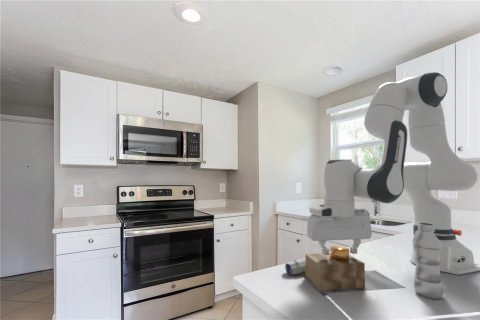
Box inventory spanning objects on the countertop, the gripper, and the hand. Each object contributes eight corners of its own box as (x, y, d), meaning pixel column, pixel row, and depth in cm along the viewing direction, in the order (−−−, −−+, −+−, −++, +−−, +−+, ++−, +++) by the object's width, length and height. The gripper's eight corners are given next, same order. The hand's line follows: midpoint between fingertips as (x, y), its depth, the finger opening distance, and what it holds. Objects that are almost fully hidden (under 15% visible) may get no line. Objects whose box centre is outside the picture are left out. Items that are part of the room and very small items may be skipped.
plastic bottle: (434, 305, 64) (432, 227, 65) (408, 293, 71) (406, 222, 72) (449, 300, 67) (446, 225, 68) (422, 289, 73) (420, 221, 74)
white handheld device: (283, 260, 85) (343, 245, 93) (285, 279, 85) (345, 263, 93) (290, 266, 80) (353, 249, 88) (293, 286, 80) (356, 268, 88)
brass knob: (343, 275, 80) (342, 245, 80) (353, 283, 74) (352, 250, 75) (327, 276, 79) (327, 246, 79) (336, 284, 74) (336, 251, 74)
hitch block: (375, 272, 86) (374, 249, 86) (405, 289, 73) (404, 263, 73) (303, 276, 82) (303, 252, 82) (322, 295, 69) (322, 267, 69)
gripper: (362, 207, 83) (363, 249, 82) (304, 208, 79) (304, 251, 79) (376, 210, 76) (376, 255, 76) (313, 211, 73) (313, 258, 73)
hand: (339, 253), depth 77 cm, fingers open, 8 cm apart
